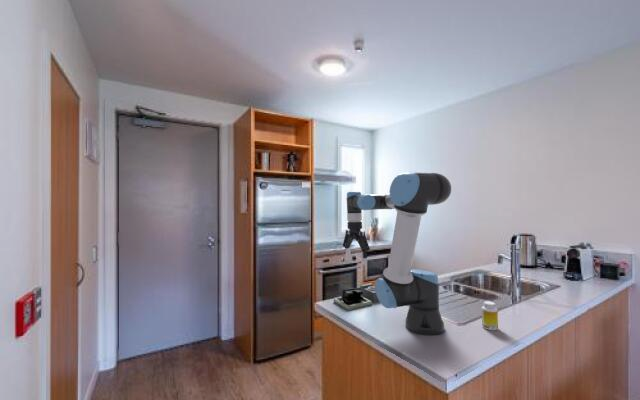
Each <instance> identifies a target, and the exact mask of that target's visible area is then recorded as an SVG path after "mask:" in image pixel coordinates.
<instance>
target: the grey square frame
mask: <svg viewBox="0 0 640 400" xmlns="http://www.w3.org/2000/svg"><path fill="white" fill-rule="evenodd" d="M363 298H364V297H363ZM333 303H334V304H335V305H337V306H339V307H341V308H342V309H345V310H346V311H348V312H349V311H352V310H357V309H360V308H366V307H370V306H373V302H372V301H370V300H368V299H366V298H364V299H363V302H362V303H358V304H353V305H347V304H345V303H344V302H343V301H342V298H341V296H340V297H339V296H338V297H335V298H333Z"/></svg>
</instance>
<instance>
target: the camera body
mask: <svg viewBox="0 0 640 400" xmlns="http://www.w3.org/2000/svg"><path fill="white" fill-rule="evenodd" d="M359 286H360V287H359V288H361V291H363V295H362V294H361V296H362V297H364V298H366V299H368V300H370V301H372V303H378V302H380V301H379V300H378V297H377V295H376V291H375V286H374V283H371V282H369V283H364V284H360V285H359Z"/></svg>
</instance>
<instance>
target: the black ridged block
mask: <svg viewBox="0 0 640 400" xmlns="http://www.w3.org/2000/svg"><path fill="white" fill-rule="evenodd" d="M361 294H362V295H363V291H361V288H360V287H354V288H346V289H342V290H341V291H340V297H341V298H342V301H343V302H344V303H345V304H347V305H353V304H358V303H362V302H363V299H364V298H363V297H362V296H361Z"/></svg>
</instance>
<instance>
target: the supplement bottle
mask: <svg viewBox="0 0 640 400" xmlns="http://www.w3.org/2000/svg"><path fill="white" fill-rule="evenodd" d="M498 312H499V311H498V308H497V307H496V303H495V302H493V301H487V300H486V301H484V302H483V306H481V324H482V328H484V329H486V330H487V331H497V330H498V329H499V318H498Z"/></svg>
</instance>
